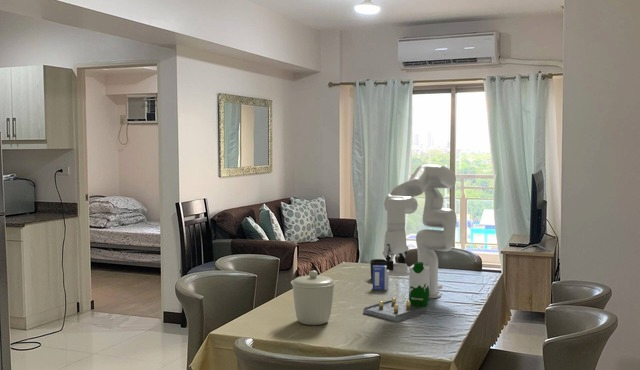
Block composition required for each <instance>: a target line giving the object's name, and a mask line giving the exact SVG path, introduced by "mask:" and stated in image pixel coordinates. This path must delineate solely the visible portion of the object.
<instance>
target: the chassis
mask: <svg viewBox="0 0 640 370" xmlns="http://www.w3.org/2000/svg"><path fill="white" fill-rule="evenodd" d="M362 312H363V314H365V315H367V316H368V315H369V316H373V317H376V318H380V319H385V320H388V321H391V322H396V323H398V322H401V321H404V320H407V319H411V318H413V317H417V316H419V315H423V314H426V313H427V308H425V307H424V306H423V307H420V306H415V305H411V301H409V300H406V302H402V301H397V298H396V297H391V299H389V300H386V301H383V300H379V302H378V303H375V304H372V305H371V304H370V305H368V306H364V308H363V311H362Z"/></svg>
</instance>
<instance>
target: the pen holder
mask: <svg viewBox="0 0 640 370" xmlns="http://www.w3.org/2000/svg"><path fill="white" fill-rule="evenodd" d="M373 266H387V260H386V259H383V258H374V259H370V280H371V281H373Z"/></svg>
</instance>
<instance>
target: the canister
mask: <svg viewBox="0 0 640 370" xmlns="http://www.w3.org/2000/svg"><path fill="white" fill-rule="evenodd" d="M290 284H291V286H292V291H293V292H292V293H293V300H294V309H295V317H296V319H297V321H298V322H299V323H300V324H303V325H308V326H320V325H323V324H326V323H328V322H329V321H330V318H331V314H332V305H333V296H334V290H335V289H334V288H335V287H334V286H335V285H336V281H335V280H334V279H333V278H331V277H329V276H327V275H326V276H324V275H319V274H318V271H317V270H310V271H309V272H308V275H302V276H297V277H296V278H294V279H293V280H291V281H290Z"/></svg>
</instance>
